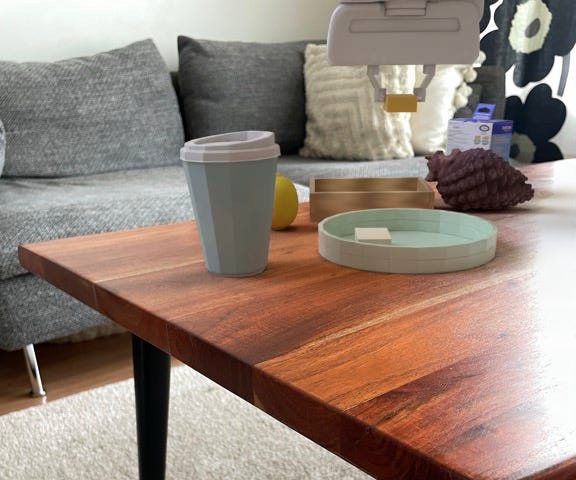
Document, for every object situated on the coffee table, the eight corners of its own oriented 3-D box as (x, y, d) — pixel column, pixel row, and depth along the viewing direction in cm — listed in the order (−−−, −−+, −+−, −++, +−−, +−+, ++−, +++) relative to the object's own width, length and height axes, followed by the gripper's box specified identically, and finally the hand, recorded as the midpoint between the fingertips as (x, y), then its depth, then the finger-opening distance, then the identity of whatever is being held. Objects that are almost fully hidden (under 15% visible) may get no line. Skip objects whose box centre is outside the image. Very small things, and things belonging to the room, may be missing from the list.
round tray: (474, 233, 97) (477, 207, 96) (514, 278, 78) (518, 246, 76) (317, 234, 98) (317, 208, 97) (318, 279, 79) (318, 248, 77)
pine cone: (523, 201, 117) (550, 151, 108) (517, 243, 111) (545, 194, 103) (418, 170, 118) (437, 118, 109) (407, 210, 112) (426, 159, 104)
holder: (420, 206, 115) (421, 176, 113) (432, 224, 102) (435, 191, 101) (309, 207, 115) (309, 177, 114) (309, 225, 103) (309, 193, 101)
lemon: (307, 232, 99) (306, 172, 96) (278, 239, 96) (276, 177, 93) (279, 226, 103) (278, 168, 100) (250, 233, 100) (248, 173, 96)
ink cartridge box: (507, 197, 121) (517, 104, 115) (485, 201, 118) (494, 106, 112) (461, 189, 128) (469, 102, 122) (440, 193, 125) (446, 103, 119)
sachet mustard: (410, 109, 102) (411, 93, 101) (416, 112, 96) (417, 96, 95) (382, 109, 102) (383, 94, 101) (386, 112, 96) (387, 96, 95)
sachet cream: (386, 243, 90) (387, 227, 90) (391, 255, 85) (391, 238, 84) (354, 243, 91) (355, 227, 90) (357, 255, 85) (357, 239, 84)
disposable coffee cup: (216, 293, 75) (207, 142, 68) (172, 270, 83) (160, 133, 77) (301, 276, 80) (299, 133, 74) (251, 256, 88) (246, 126, 82)
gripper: (480, -13, 95) (470, 99, 101) (326, -10, 96) (325, 101, 102) (491, -17, 90) (480, 102, 95) (327, -14, 90) (326, 104, 96)
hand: (399, 102), depth 99 cm, fingers closed on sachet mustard, 4 cm apart
